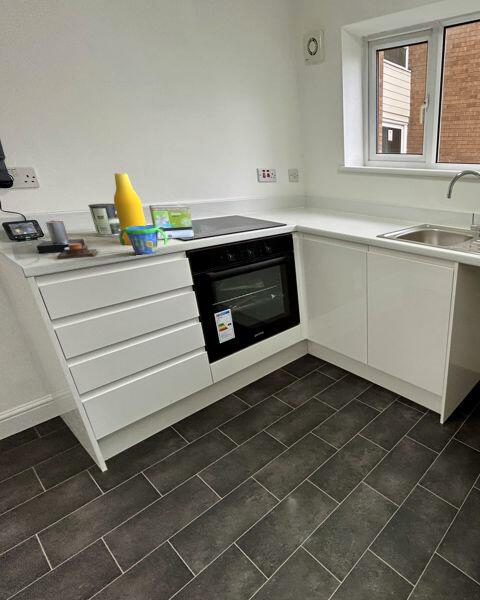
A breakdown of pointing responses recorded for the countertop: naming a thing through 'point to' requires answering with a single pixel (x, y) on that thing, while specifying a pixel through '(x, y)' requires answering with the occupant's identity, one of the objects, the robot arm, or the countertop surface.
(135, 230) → the snack cup
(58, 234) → the dial
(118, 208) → the beer bottle
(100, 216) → the coffee can
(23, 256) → the countertop surface
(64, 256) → the button block
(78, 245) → the button
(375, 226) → the countertop surface
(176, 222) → the tea box
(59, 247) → the control panel
